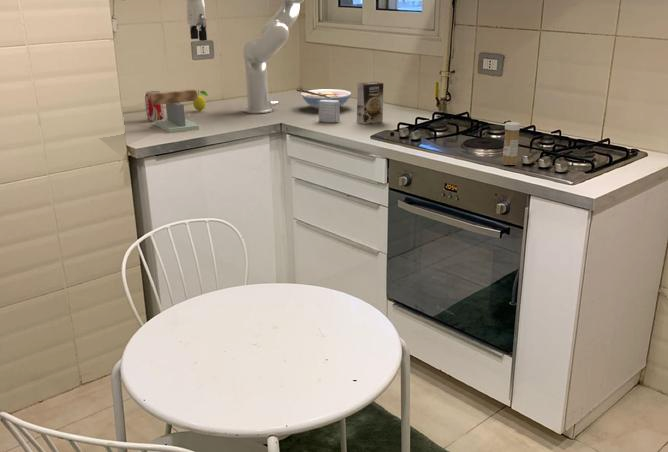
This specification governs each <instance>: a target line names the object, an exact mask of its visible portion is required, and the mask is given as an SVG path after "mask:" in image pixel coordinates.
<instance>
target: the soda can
mask: <svg viewBox="0 0 668 452" xmlns="http://www.w3.org/2000/svg"><path fill="white" fill-rule="evenodd" d="M154 93H161V91H159V90H149V91H146V92H145V96H144V103H145V110H146V111H145V112H146V118H147V120H148V121H150V122H155V121H158V120H164V117H165V114H164V113H165V112H164V104H159V105H153V104H151V94H154Z"/></svg>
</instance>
